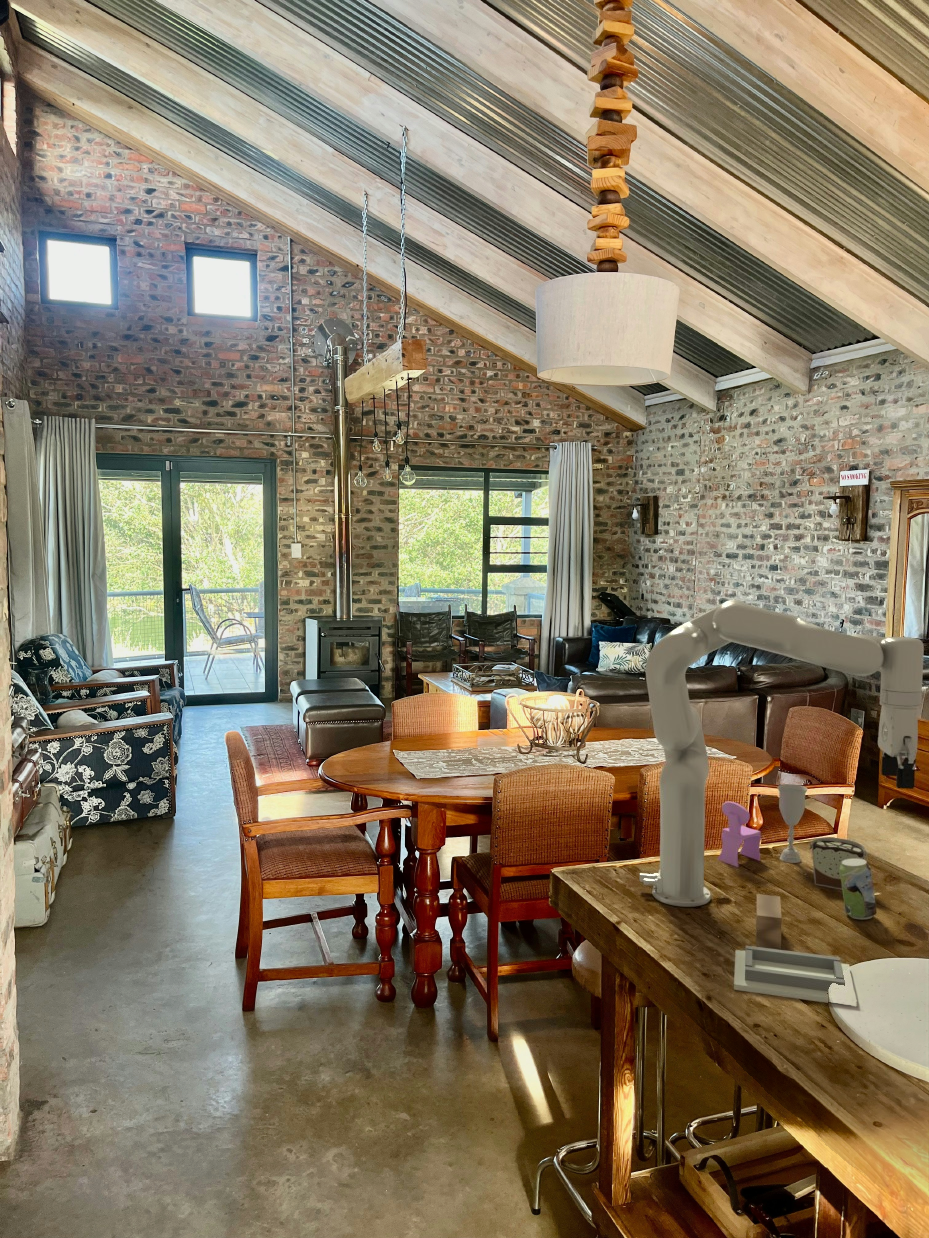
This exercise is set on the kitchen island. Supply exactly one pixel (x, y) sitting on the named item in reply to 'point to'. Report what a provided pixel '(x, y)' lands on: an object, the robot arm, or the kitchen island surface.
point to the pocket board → (787, 973)
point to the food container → (833, 859)
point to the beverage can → (857, 888)
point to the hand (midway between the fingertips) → (897, 781)
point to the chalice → (791, 815)
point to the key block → (768, 922)
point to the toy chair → (738, 835)
